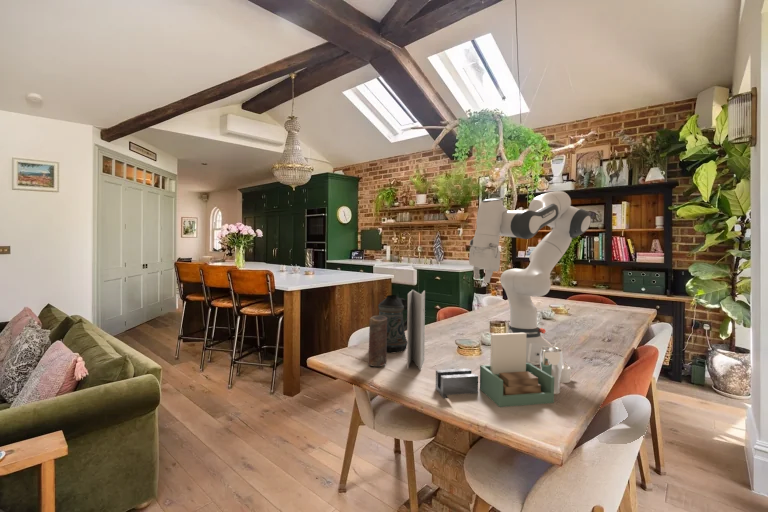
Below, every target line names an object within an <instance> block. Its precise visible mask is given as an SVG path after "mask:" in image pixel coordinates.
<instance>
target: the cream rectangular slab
mask: <svg viewBox="0 0 768 512" xmlns="http://www.w3.org/2000/svg"><path fill="white" fill-rule="evenodd" d="M489 361H490V364H489V365H490V371H491V372H493V373H494V374H499V373H507V372H524V371H526V333H509V332H504V333H499V332H498V333H490V360H489Z"/></svg>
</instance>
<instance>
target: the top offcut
mask: <svg viewBox="0 0 768 512" xmlns="http://www.w3.org/2000/svg"><path fill="white" fill-rule="evenodd" d="M499 378H501V379H502V380H503V384H505V385H506V386H507V387H522V386H537V385H538V377H536V376H534V375H533V374H531V373H530V372H528V371H524V372H507V373H499Z"/></svg>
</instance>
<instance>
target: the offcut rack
mask: <svg viewBox="0 0 768 512" xmlns="http://www.w3.org/2000/svg"><path fill="white" fill-rule="evenodd" d="M526 371H528V372H530V373H531V374H533V375H534V376H536V377H538V384H540V385H541V391H542V392H544V393H530V394H516V395H503V380H502V379H501V378H499V374H494V373H493V372H491V371H490V364H483V365H481V364H480V365H479V374H480V375H479V390H480V391H481V392H483V393H484V394H485V396H487V397H488V398H489V399H490V400H492V401H493V402H494V403H495V404H496V405H497V406H498V407H499V408H504V407H505V408H506V407H516V406H518V407H519V406H533V405H542V404H554V403H555V394H554V377H553V376H551V375H550V374H548V373H546V372H544V371H543V370H541V368H540V367H537V365H532V364H530V363H526Z"/></svg>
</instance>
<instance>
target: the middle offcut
mask: <svg viewBox="0 0 768 512" xmlns="http://www.w3.org/2000/svg"><path fill="white" fill-rule="evenodd" d="M530 393H541V385H540V384H538V385H537V386H522V387H507V386H506V385H505V384H503V394H504V395H516V394H530Z"/></svg>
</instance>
